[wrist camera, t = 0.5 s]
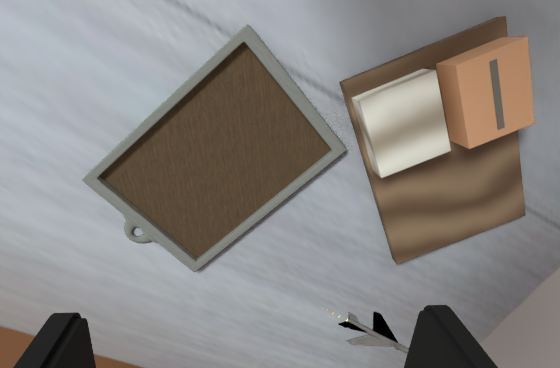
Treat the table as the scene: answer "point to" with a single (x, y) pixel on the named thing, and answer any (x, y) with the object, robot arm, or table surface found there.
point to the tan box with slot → (487, 91)
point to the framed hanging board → (216, 154)
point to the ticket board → (447, 175)
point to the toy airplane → (373, 333)
